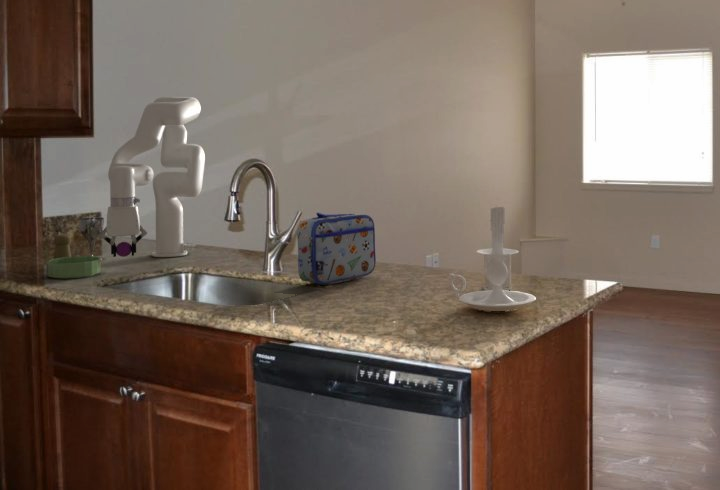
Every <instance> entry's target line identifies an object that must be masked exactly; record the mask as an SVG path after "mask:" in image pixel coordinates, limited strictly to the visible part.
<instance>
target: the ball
mask: <svg viewBox="0 0 720 490" xmlns="http://www.w3.org/2000/svg"><path fill="white" fill-rule="evenodd" d="M131 254H132V248H131V243H130V242H128V241H121V242H119V243H117V244H116V255H117V256H119V257H125V258H126V257H129V256H130V255H131Z"/></svg>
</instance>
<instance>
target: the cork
mask: <svg viewBox="0 0 720 490" xmlns="http://www.w3.org/2000/svg"><path fill="white" fill-rule="evenodd" d="M71 242H72V237H71V236H70V235H69V234H59V235H56V236H55V237H54V238H53V243H54V245H55V247H54V254H53V259H56V258H63V257H72V253H71V246H70V245H71Z"/></svg>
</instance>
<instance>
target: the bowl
mask: <svg viewBox="0 0 720 490" xmlns="http://www.w3.org/2000/svg"><path fill="white" fill-rule="evenodd" d="M100 258H101V257H99V256H94V255H93V256H90V255H79V256H76V255H75V256H71V257H63V258H56V259H54V258H52V259H49V260H47V261H46V277H49V278H52V279H60V280H61V279H62V280H63V279H64V280H67V279H68V280H69V279H81V278H88V277H92V276H95V275H98V274H99V273H101V269H102V267H101V263H102V262H101V260H100Z"/></svg>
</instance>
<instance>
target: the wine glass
mask: <svg viewBox="0 0 720 490" xmlns="http://www.w3.org/2000/svg"><path fill="white" fill-rule="evenodd" d="M78 221H79V222H78V225H79V231H80V234H81V236H82V237H83V238H84V239H85V240H86V241H87V242H88V244H89V247H90V248H89V250H90V255H89V256H94V247H95V243H96V241H97V240H98V239H99V238H100V237H99V235H100V233H101V232H102V231H103V230H104V228H105V217H99V216H98V217H97V216H96V217H95V216H94V217H93V216H92V217H82V218H81V217H80V218H79V219H78ZM99 258H100V261H102V260H103V258H102V257H99Z"/></svg>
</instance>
